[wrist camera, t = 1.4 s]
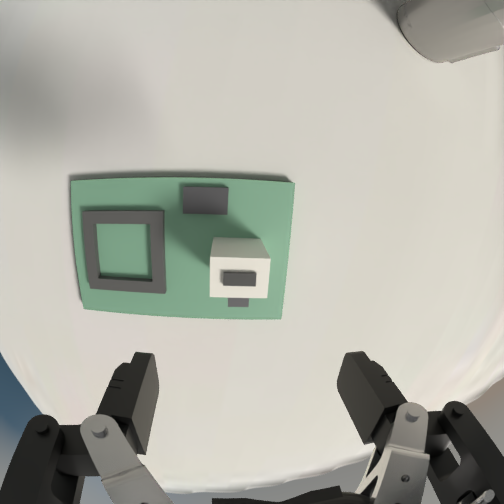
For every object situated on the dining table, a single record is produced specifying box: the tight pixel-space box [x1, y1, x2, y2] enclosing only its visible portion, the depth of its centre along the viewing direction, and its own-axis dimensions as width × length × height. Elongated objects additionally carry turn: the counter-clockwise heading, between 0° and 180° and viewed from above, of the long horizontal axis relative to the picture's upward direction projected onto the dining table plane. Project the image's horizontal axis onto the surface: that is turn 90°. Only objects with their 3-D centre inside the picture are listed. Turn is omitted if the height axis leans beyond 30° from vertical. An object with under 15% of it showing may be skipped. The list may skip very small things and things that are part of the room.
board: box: [71, 177, 295, 319], centre depth 26 cm, size 22×14×2 cm, turn 86°
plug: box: [210, 237, 271, 307], centre depth 24 cm, size 4×4×6 cm
